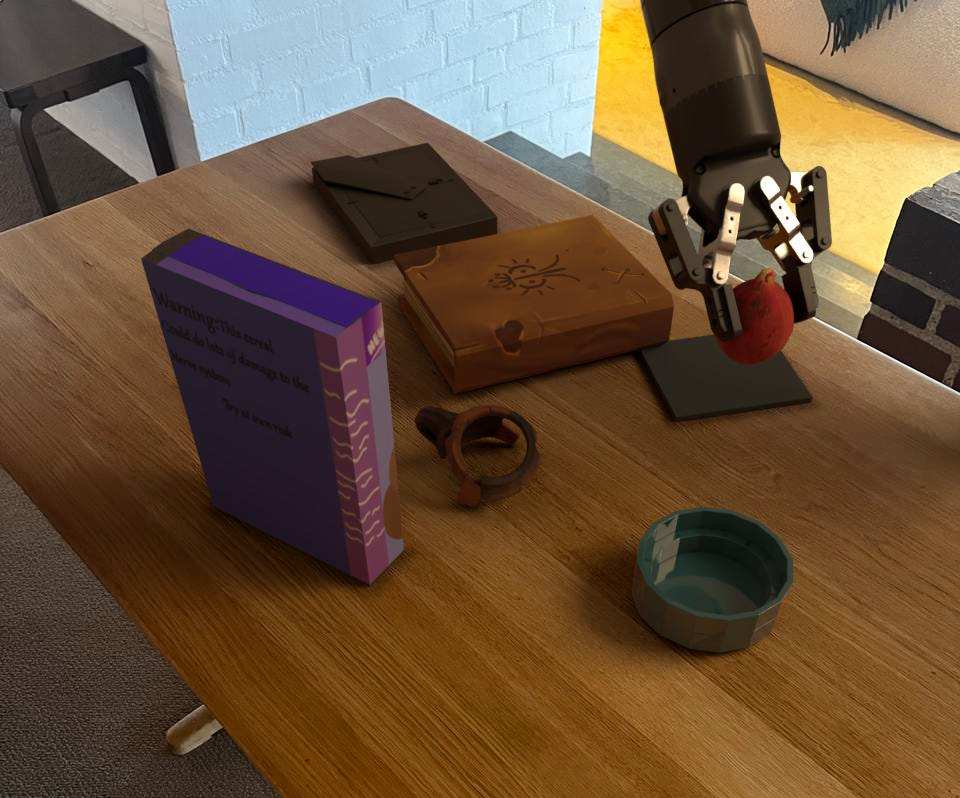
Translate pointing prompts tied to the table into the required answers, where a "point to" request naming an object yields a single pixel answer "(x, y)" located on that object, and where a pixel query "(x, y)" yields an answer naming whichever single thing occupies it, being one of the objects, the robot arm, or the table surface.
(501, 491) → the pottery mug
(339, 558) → the purple book
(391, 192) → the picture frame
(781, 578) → the bowl
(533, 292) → the diary
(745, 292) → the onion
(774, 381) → the mat
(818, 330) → the table surface
